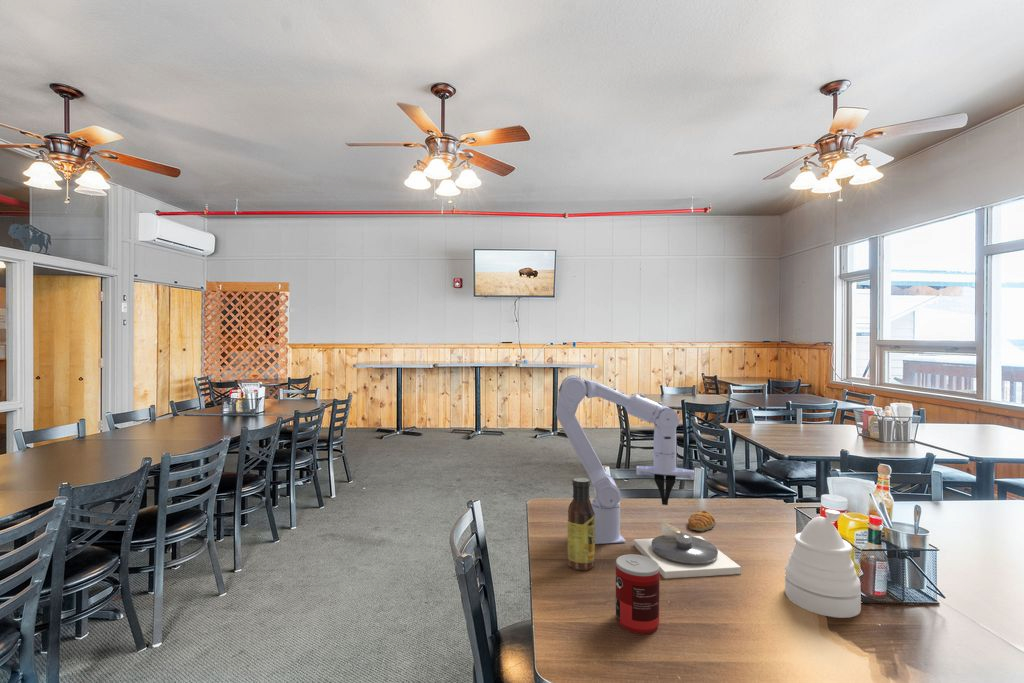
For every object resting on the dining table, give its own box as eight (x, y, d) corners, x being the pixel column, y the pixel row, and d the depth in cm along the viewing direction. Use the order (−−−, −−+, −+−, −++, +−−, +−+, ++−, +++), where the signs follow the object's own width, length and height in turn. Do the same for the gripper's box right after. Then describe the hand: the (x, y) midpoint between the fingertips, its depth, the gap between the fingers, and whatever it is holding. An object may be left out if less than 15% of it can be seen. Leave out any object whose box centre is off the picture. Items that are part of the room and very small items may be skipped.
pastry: (708, 535, 133) (707, 521, 133) (682, 530, 137) (682, 516, 137) (716, 525, 140) (716, 511, 140) (692, 520, 144) (692, 507, 144)
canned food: (626, 606, 96) (626, 550, 96) (666, 621, 91) (666, 561, 91) (607, 623, 90) (607, 563, 90) (649, 640, 85) (649, 576, 85)
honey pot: (845, 589, 103) (845, 503, 103) (872, 622, 91) (872, 525, 91) (778, 581, 107) (778, 498, 107) (795, 612, 94) (795, 518, 95)
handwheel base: (664, 578, 108) (664, 570, 108) (633, 545, 126) (633, 538, 126) (741, 573, 110) (741, 566, 110) (700, 541, 128) (700, 535, 128)
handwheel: (732, 559, 113) (732, 541, 113) (678, 568, 108) (678, 550, 108) (688, 535, 127) (688, 519, 127) (639, 542, 122) (639, 526, 122)
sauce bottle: (594, 573, 110) (594, 484, 110) (566, 570, 111) (566, 482, 112) (595, 560, 117) (595, 476, 117) (568, 558, 118) (569, 475, 118)
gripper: (693, 450, 131) (693, 501, 131) (637, 447, 135) (637, 496, 135) (694, 456, 124) (694, 510, 124) (635, 452, 129) (635, 504, 129)
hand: (664, 503), depth 129 cm, fingers closed
